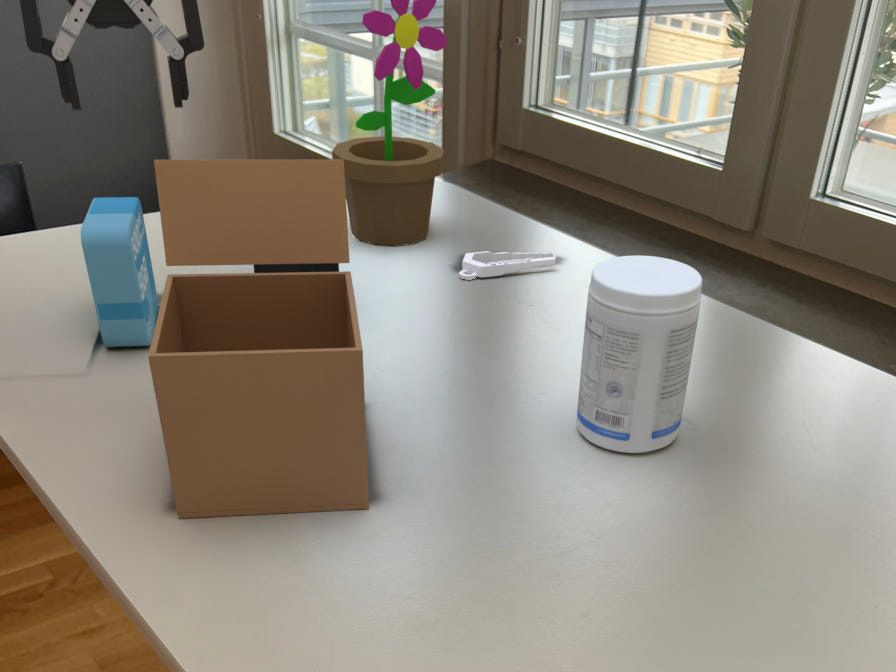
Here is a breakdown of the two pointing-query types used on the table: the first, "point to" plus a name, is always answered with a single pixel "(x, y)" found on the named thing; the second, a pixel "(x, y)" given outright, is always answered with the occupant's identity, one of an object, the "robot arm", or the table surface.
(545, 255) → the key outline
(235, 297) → the carton
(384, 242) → the flowerpot
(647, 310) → the supplement tub
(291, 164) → the flap
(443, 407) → the table surface
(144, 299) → the data package
